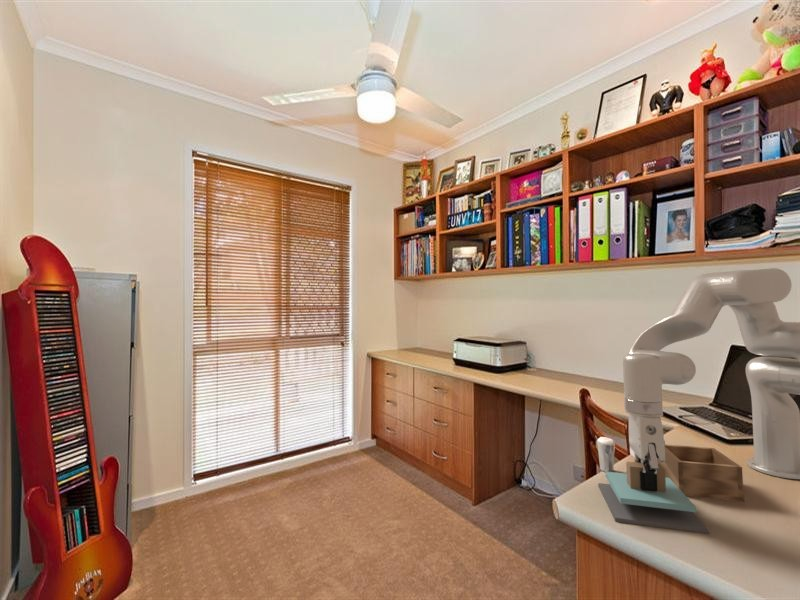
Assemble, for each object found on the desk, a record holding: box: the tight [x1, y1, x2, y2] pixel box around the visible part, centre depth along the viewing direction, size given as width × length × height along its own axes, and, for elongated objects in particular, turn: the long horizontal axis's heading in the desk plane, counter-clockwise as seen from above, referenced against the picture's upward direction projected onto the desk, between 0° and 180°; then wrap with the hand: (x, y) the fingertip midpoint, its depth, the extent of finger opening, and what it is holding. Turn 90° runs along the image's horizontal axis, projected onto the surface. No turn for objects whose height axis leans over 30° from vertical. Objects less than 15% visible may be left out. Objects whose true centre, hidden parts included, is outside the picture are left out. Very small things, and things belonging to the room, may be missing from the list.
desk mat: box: [597, 482, 710, 535], centre depth 87 cm, size 17×17×1 cm
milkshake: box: [595, 436, 616, 473], centre depth 107 cm, size 4×5×10 cm
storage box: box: [659, 443, 745, 503], centre depth 97 cm, size 13×13×8 cm
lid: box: [604, 461, 697, 513], centre depth 87 cm, size 14×14×7 cm
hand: (646, 485), depth 87 cm, fingers closed on lid, 3 cm apart
